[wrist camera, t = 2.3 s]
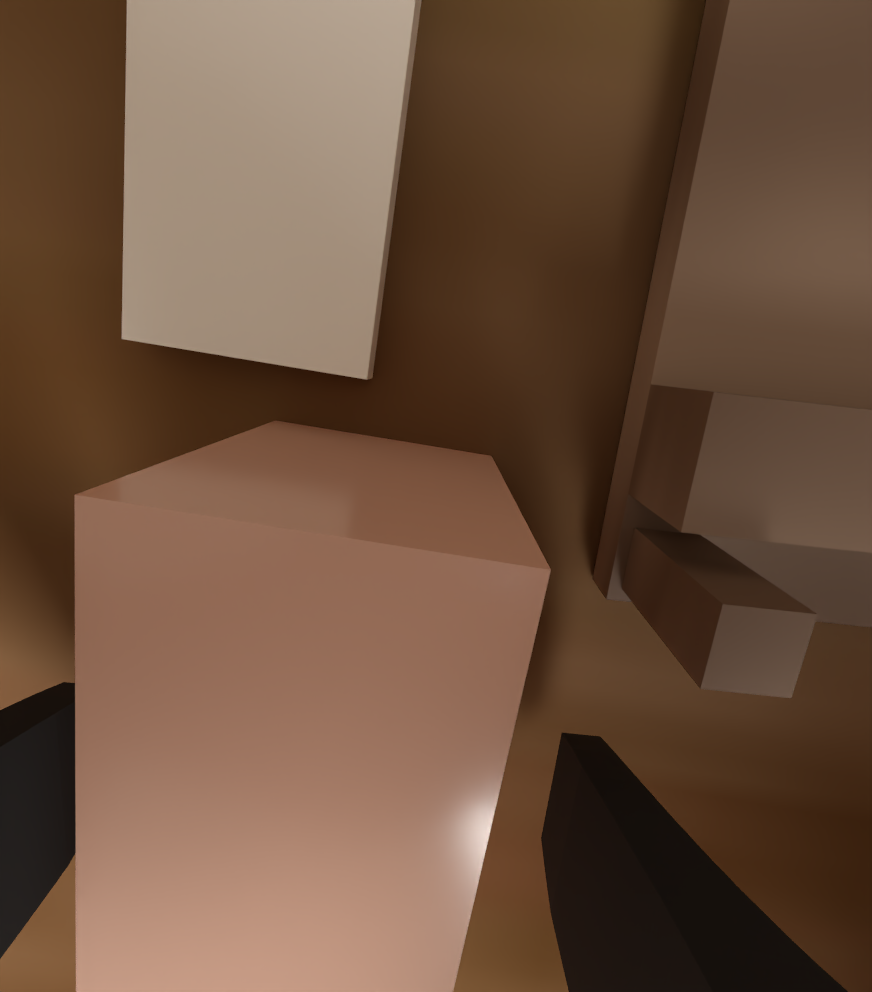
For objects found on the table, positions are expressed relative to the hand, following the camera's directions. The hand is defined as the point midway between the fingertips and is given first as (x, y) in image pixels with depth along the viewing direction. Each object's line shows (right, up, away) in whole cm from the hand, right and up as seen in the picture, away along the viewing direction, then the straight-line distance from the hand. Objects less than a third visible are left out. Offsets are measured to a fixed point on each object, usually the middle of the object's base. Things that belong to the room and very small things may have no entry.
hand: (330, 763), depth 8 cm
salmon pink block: (0, 0, +2) cm, 2 cm away
